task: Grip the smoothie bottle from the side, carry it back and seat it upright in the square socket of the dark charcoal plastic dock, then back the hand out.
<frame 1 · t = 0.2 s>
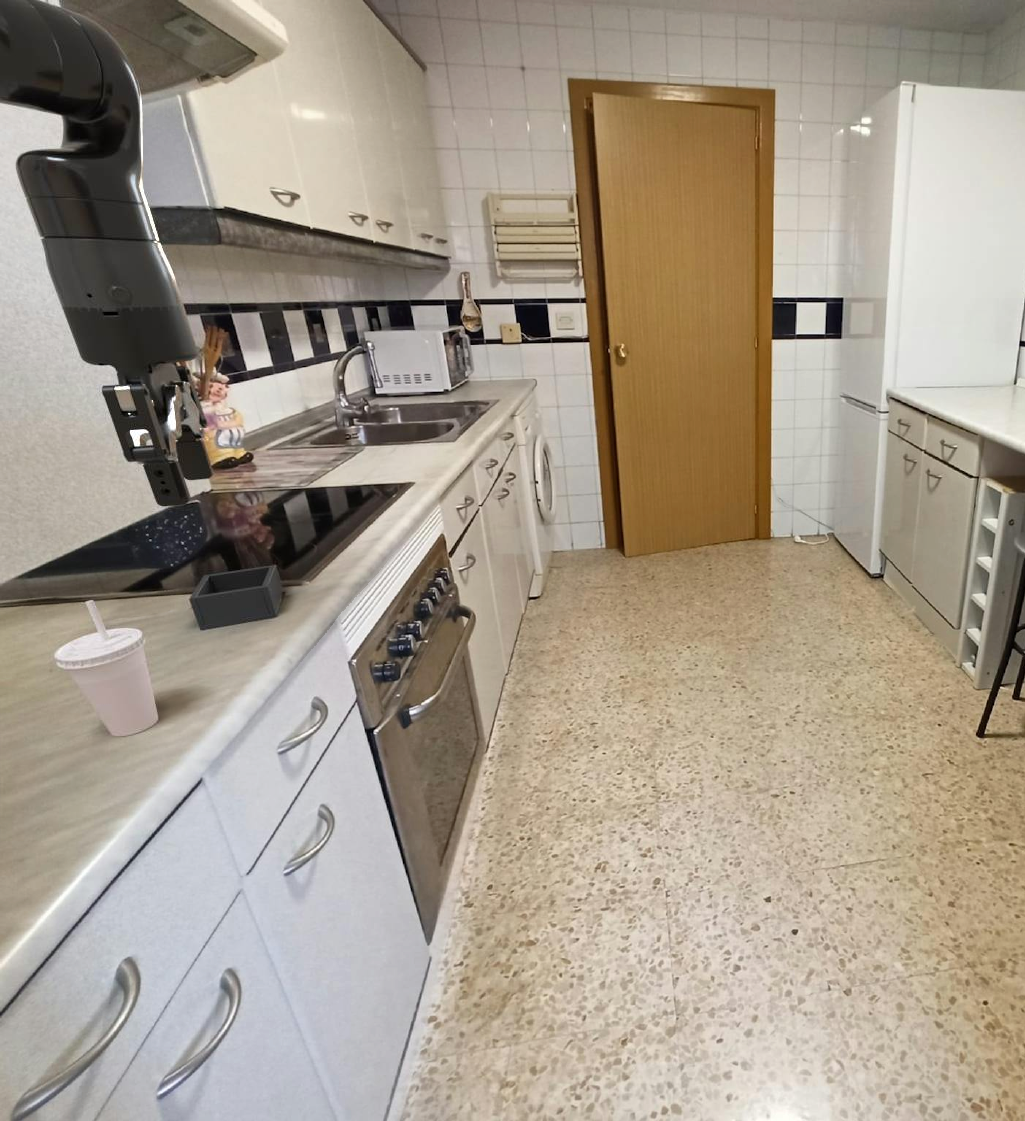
hand: (188, 490, 60), 24 cm above the counter, tool pointing down, fingers open, 8 cm apart
dock: (244, 610, 90), on the counter
smoothie: (135, 726, 67), on the counter
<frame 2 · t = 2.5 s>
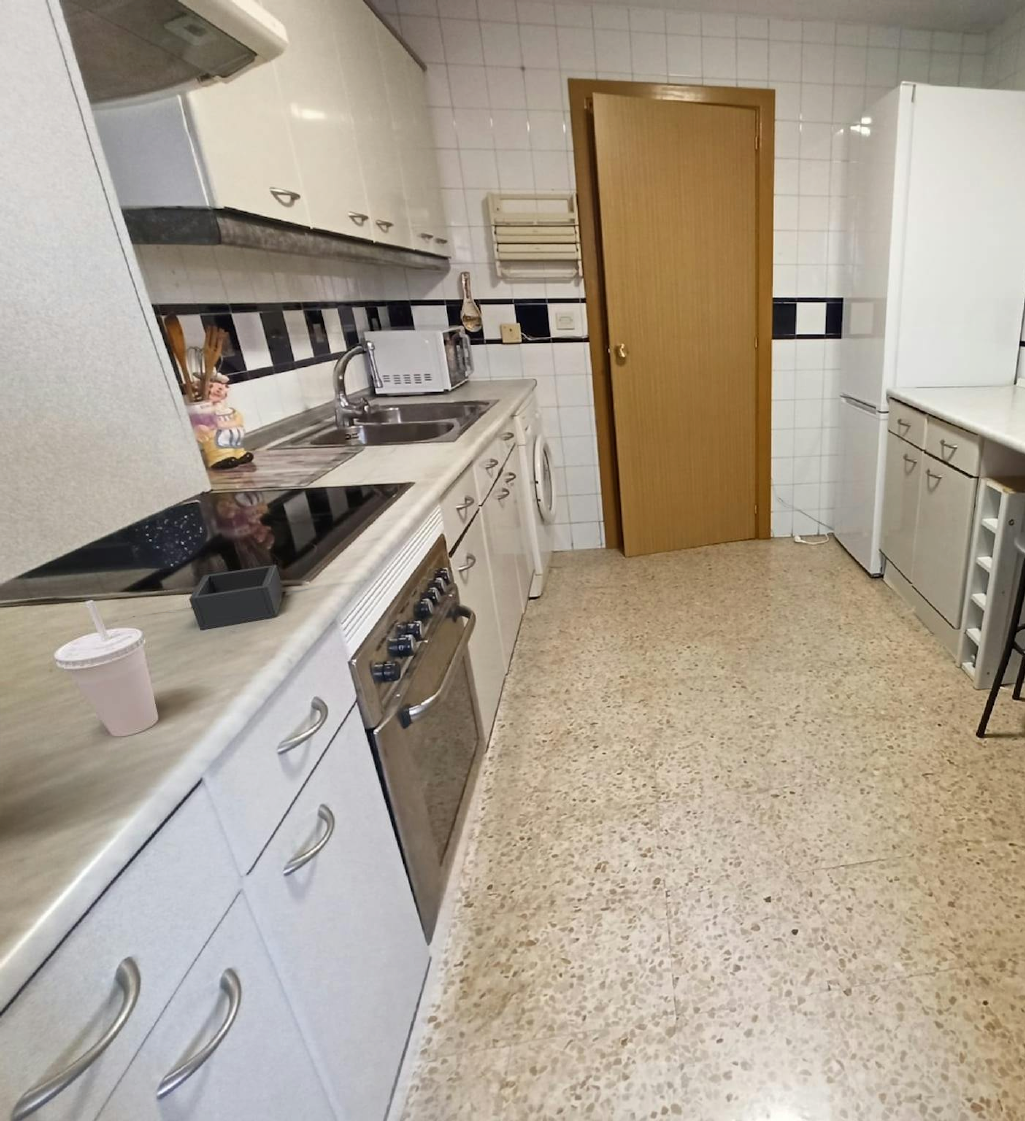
nothing on the counter moved.
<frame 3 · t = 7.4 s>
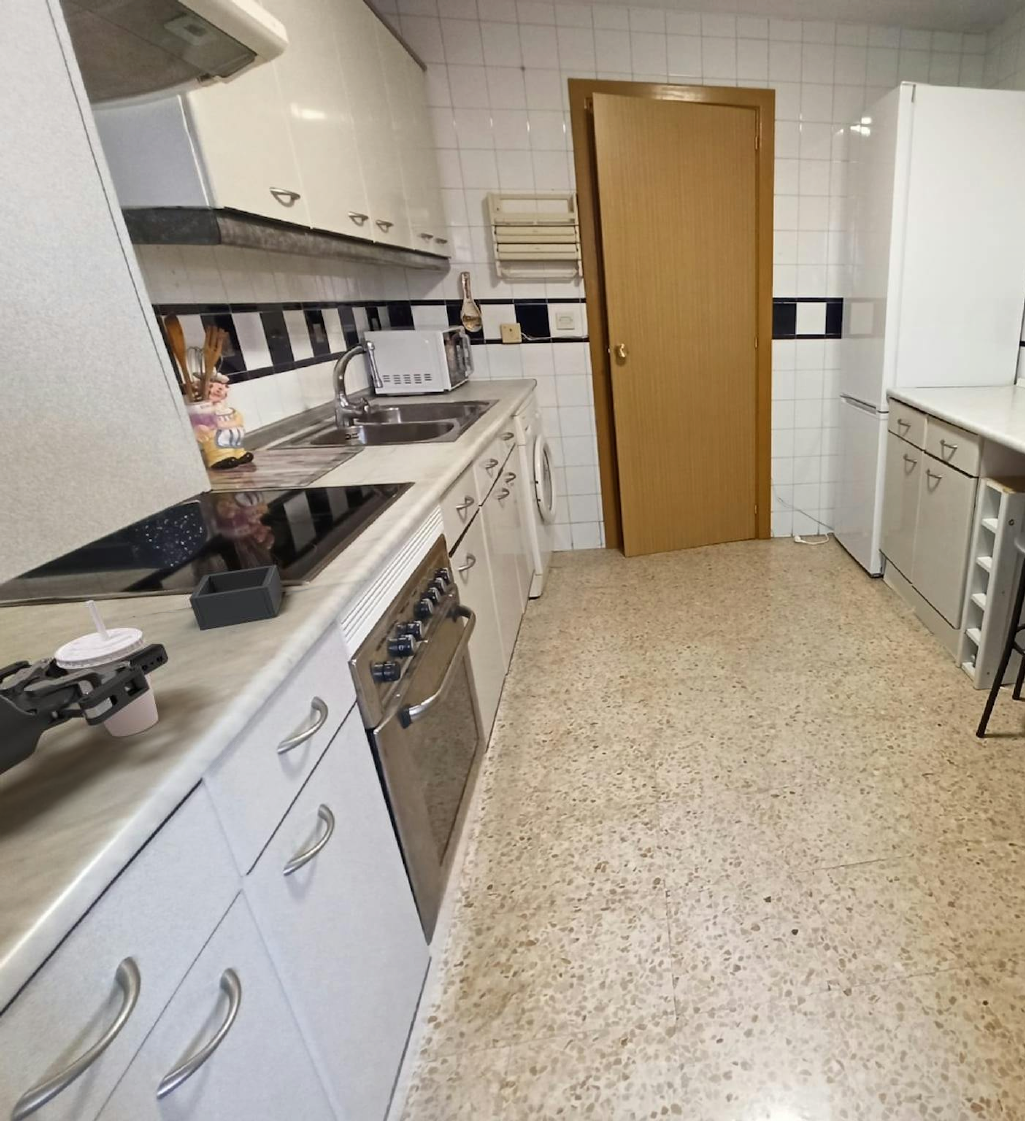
hand: (130, 650, 66), 7 cm above the counter, tool horizontal, fingers closed on smoothie, 6 cm apart
smoothie: (135, 726, 67), on the counter, touching gripper
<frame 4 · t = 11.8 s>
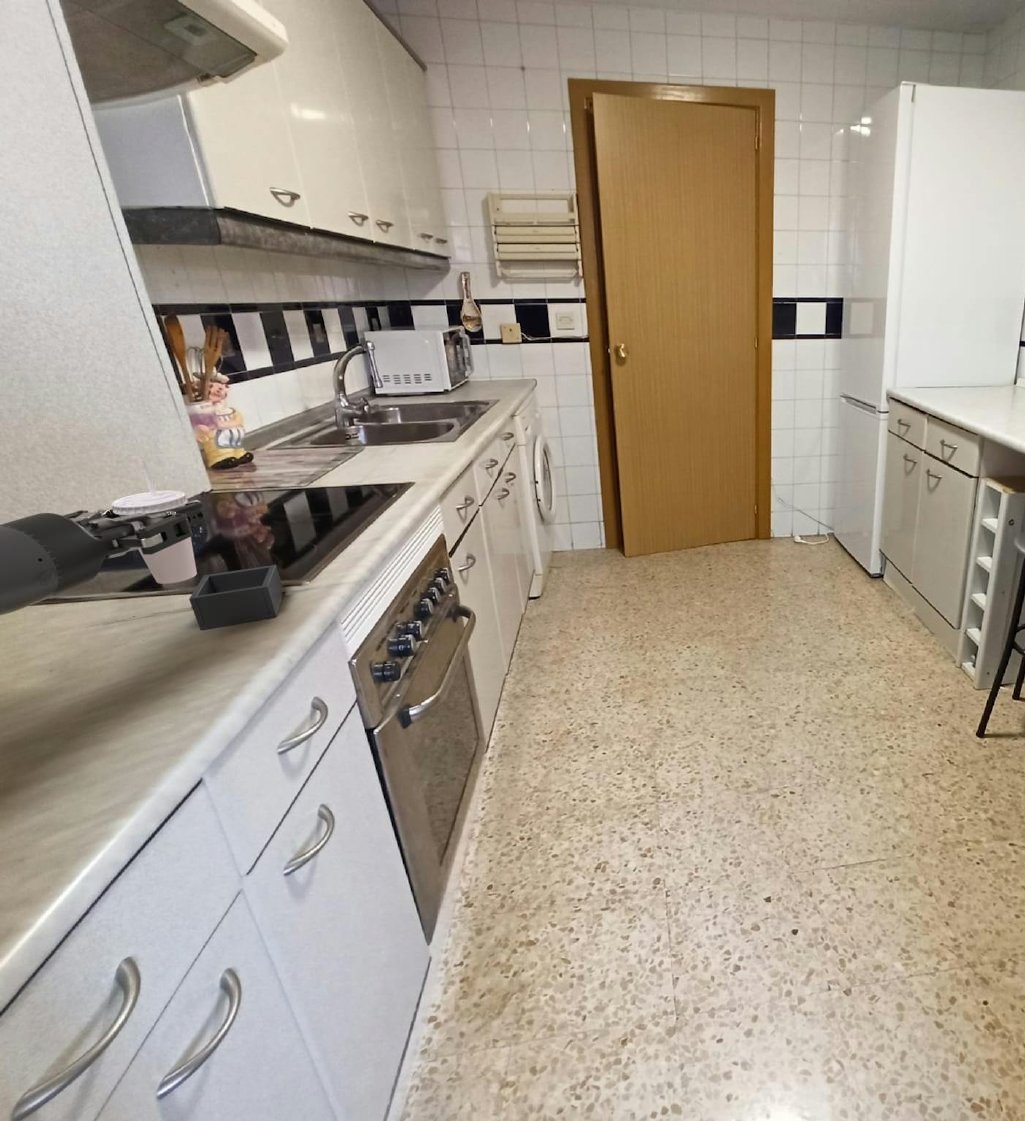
hand: (173, 510, 76), 18 cm above the counter, tool horizontal, fingers closed on smoothie, 6 cm apart
smoothie: (177, 578, 76), point 10 cm above the counter, touching gripper
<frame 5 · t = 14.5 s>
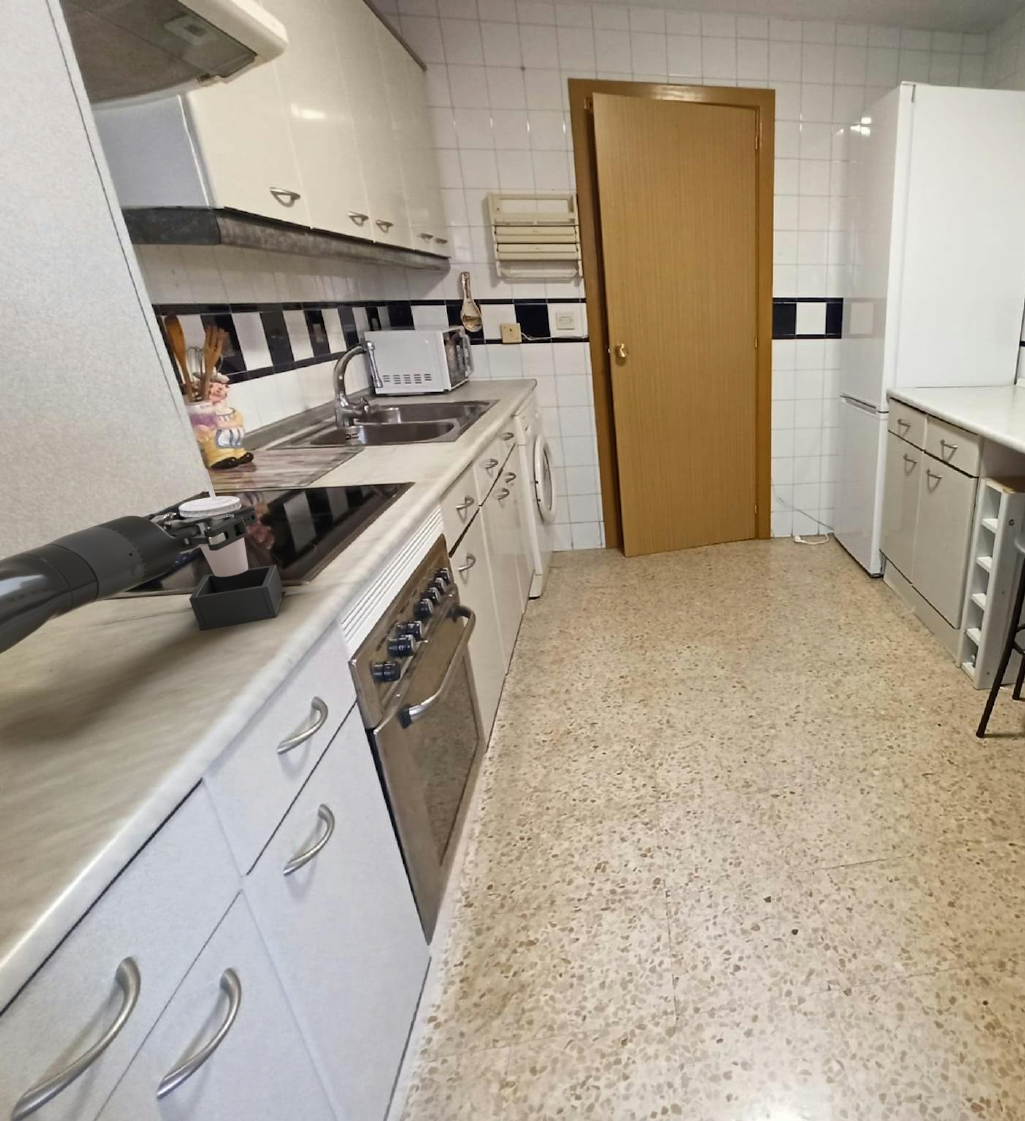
hand: (229, 513, 87), 14 cm above the counter, tool horizontal, fingers closed on smoothie, 6 cm apart
smoothie: (232, 572, 88), point 6 cm above the counter, touching gripper
when the fingers open (8 cm above the counter, at t = 16.5 s): smoothie stays where it is, resting on dock.
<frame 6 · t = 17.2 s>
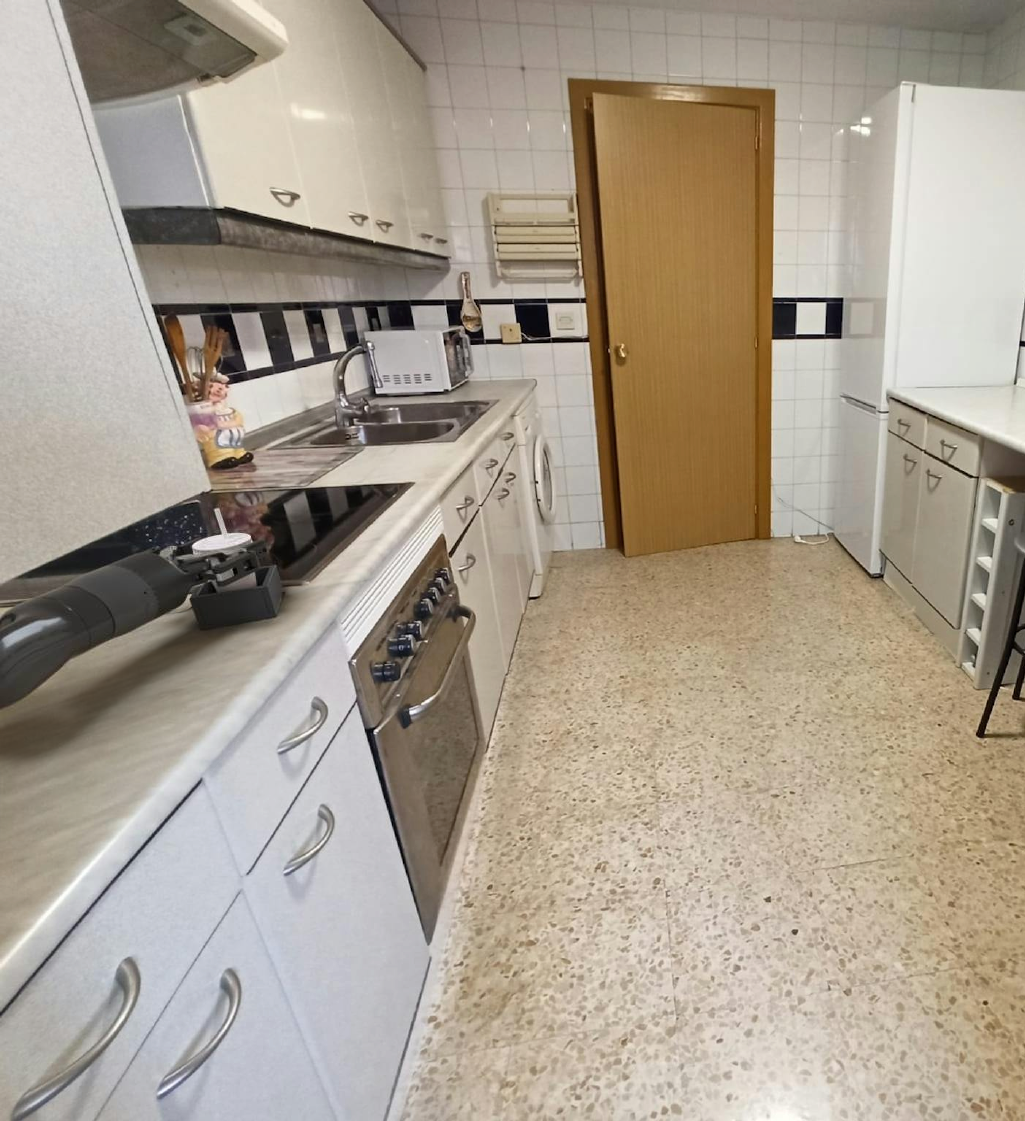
hand: (235, 545, 89), 9 cm above the counter, tool horizontal, fingers open, 8 cm apart
smoothie: (243, 607, 90), point 1 cm above the counter, touching dock
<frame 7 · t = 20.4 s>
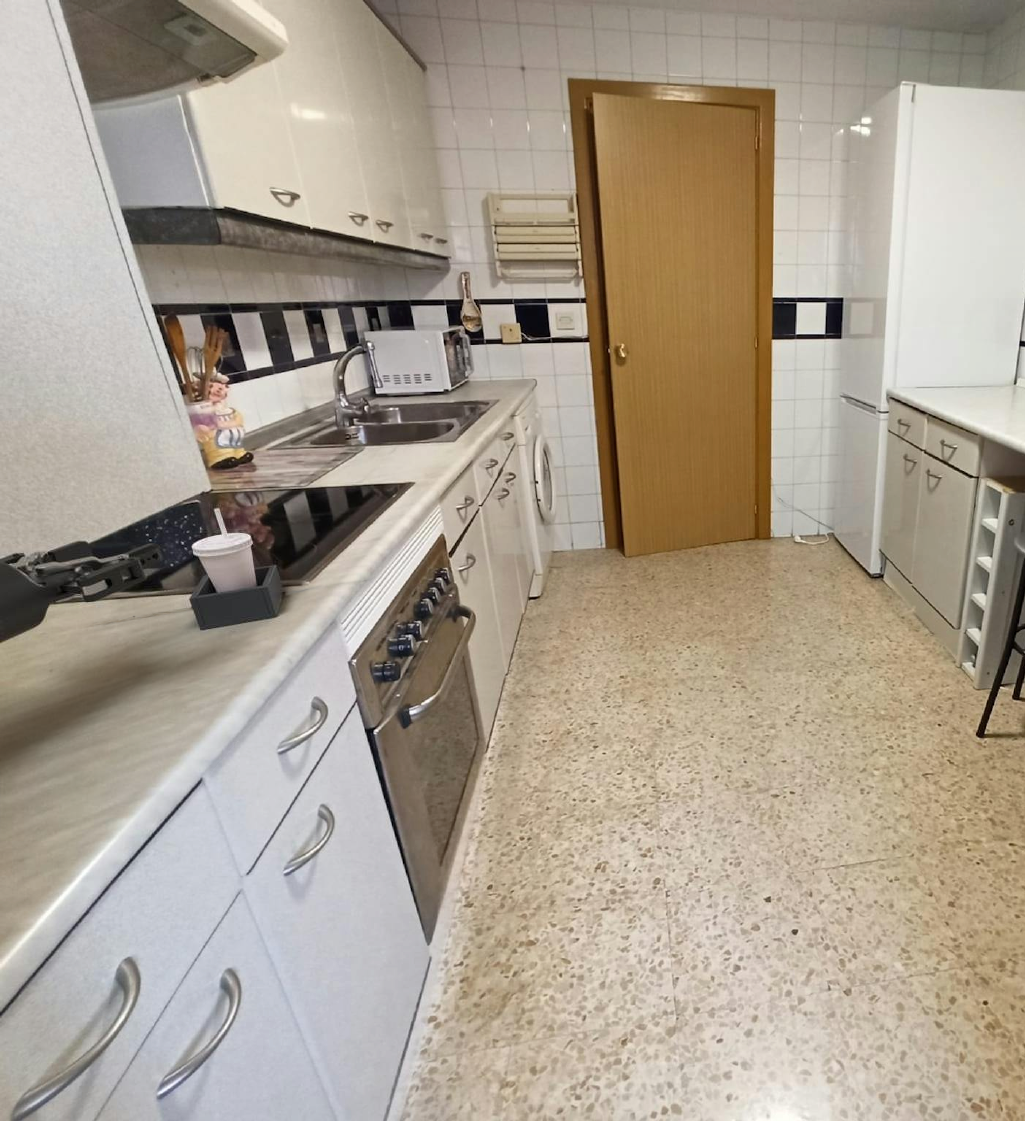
hand: (122, 549, 74), 14 cm above the counter, tool horizontal, fingers open, 8 cm apart
nothing on the counter moved.
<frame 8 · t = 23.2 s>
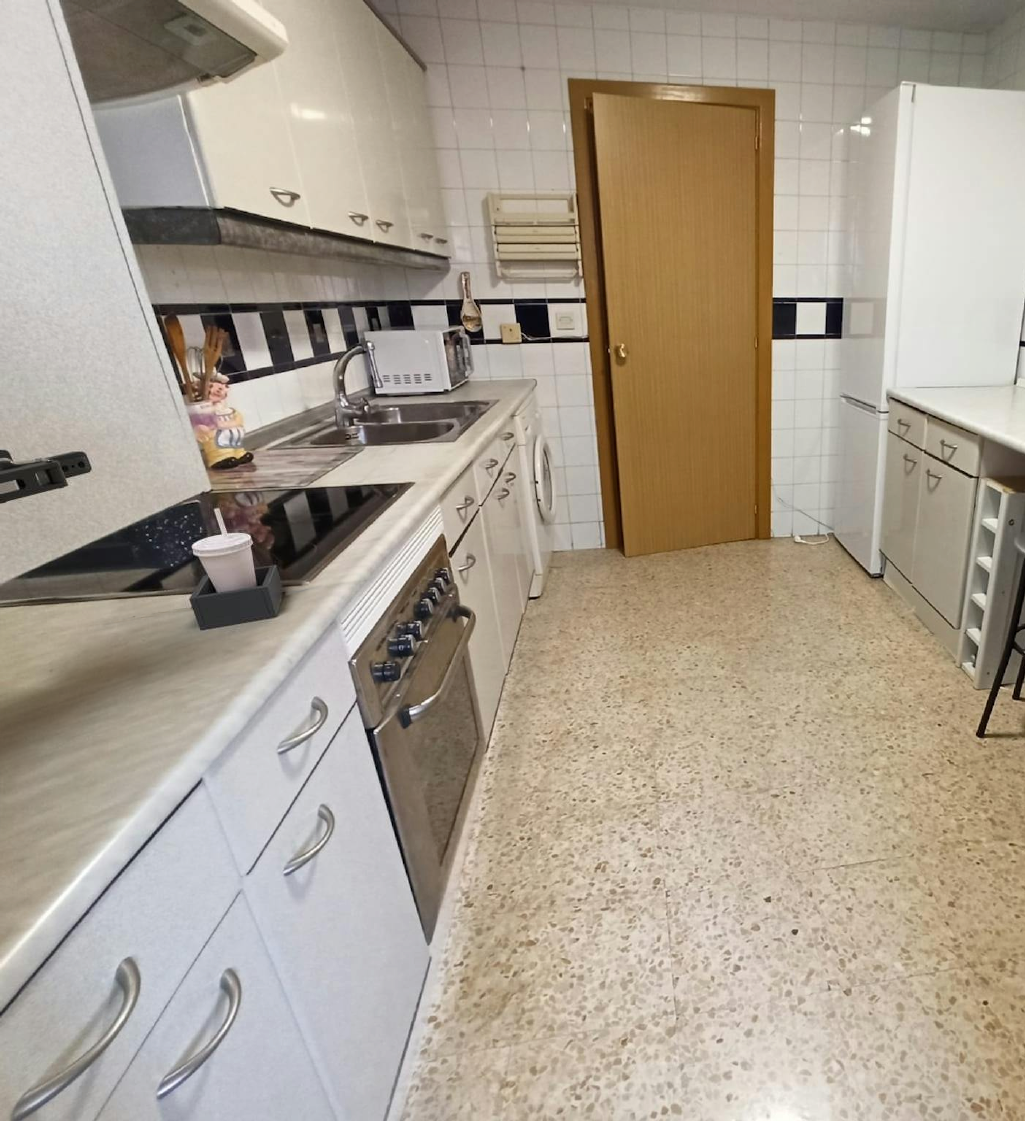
hand: (47, 460, 67), 25 cm above the counter, tool horizontal, fingers open, 8 cm apart
nothing on the counter moved.
at the end: smoothie 0.1 cm off-centre in the dock, point 0.6 cm above the dock's base; smoothie tilted 0°; the gripper is holding nothing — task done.
